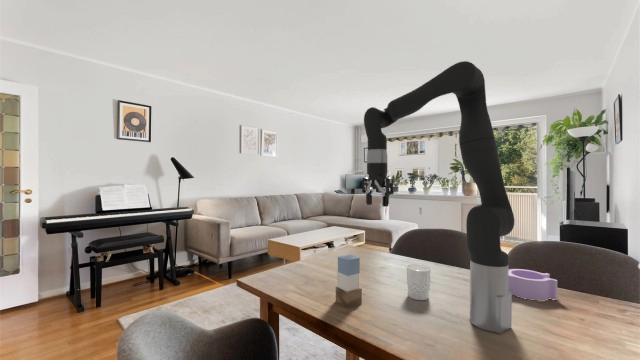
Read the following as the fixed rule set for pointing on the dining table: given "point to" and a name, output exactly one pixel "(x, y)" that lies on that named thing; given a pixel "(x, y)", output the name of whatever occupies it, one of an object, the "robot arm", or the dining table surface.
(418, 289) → the white cup
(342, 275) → the tower top
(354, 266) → the blue cube
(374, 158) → the robot arm
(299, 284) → the dining table surface
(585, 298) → the dining table surface
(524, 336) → the dining table surface
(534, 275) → the purple piece
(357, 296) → the tower base
